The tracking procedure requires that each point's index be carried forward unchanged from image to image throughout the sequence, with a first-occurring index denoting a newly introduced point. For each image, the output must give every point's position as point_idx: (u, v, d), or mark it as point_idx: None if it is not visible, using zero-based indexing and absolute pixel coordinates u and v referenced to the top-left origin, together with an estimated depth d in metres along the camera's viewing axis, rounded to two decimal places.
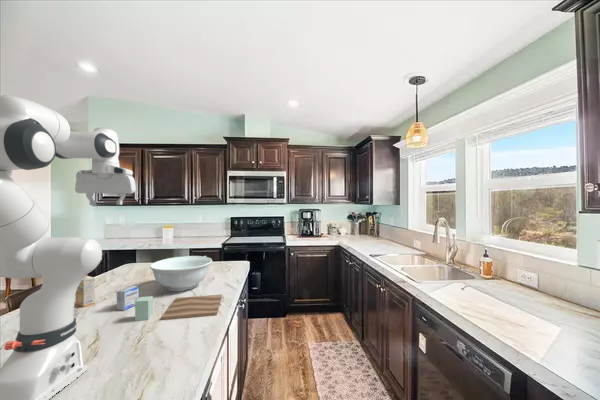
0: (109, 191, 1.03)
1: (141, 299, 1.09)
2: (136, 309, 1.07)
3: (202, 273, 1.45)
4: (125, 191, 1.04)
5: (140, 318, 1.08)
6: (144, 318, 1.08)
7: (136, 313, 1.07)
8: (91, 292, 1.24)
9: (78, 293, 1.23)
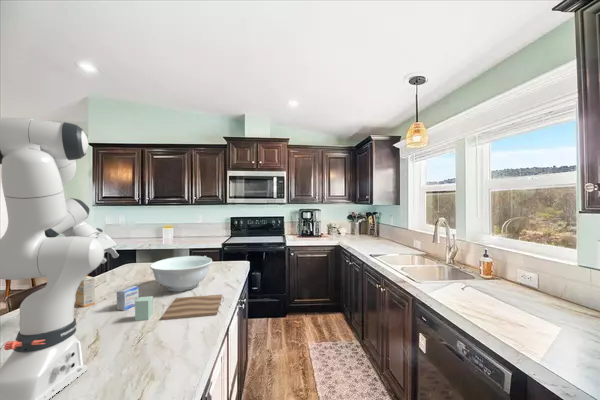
0: (107, 246, 1.09)
1: (141, 299, 1.09)
2: (136, 309, 1.07)
3: (202, 273, 1.45)
4: (114, 244, 1.15)
5: (140, 318, 1.08)
6: (144, 318, 1.08)
7: (136, 313, 1.07)
8: (91, 292, 1.24)
9: (78, 293, 1.23)
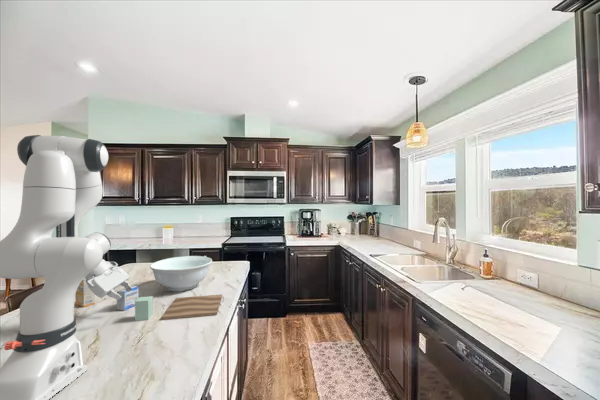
0: (121, 281, 1.10)
1: (141, 299, 1.09)
2: (136, 309, 1.07)
3: (202, 273, 1.45)
4: (127, 277, 1.16)
5: (140, 318, 1.08)
6: (144, 318, 1.08)
7: (136, 313, 1.07)
8: (91, 292, 1.24)
9: (78, 293, 1.23)
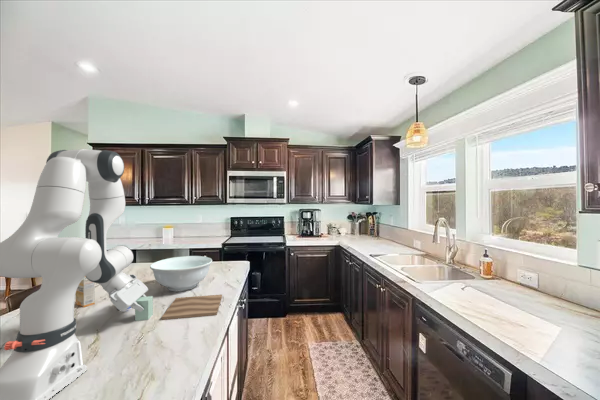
0: (141, 294, 1.12)
1: (141, 299, 1.09)
2: None
3: (202, 273, 1.45)
4: (146, 289, 1.17)
5: (140, 318, 1.08)
6: (144, 318, 1.08)
7: (136, 313, 1.07)
8: (91, 292, 1.24)
9: (78, 293, 1.23)
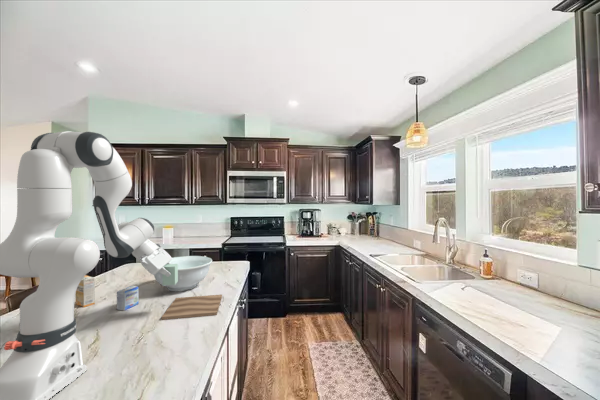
0: (167, 261, 1.18)
1: (167, 265, 1.15)
2: (163, 274, 1.13)
3: (202, 273, 1.45)
4: (170, 258, 1.23)
5: (167, 283, 1.14)
6: (171, 283, 1.14)
7: (163, 278, 1.13)
8: (91, 292, 1.24)
9: (78, 293, 1.23)
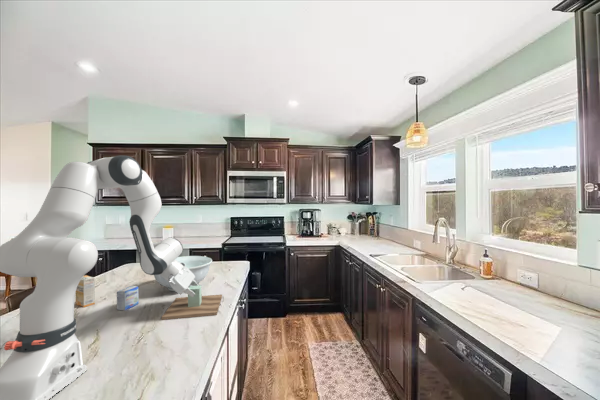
0: (191, 280, 1.22)
1: (192, 287, 1.20)
2: (189, 296, 1.18)
3: (202, 273, 1.45)
4: (194, 276, 1.28)
5: (192, 305, 1.18)
6: (196, 305, 1.18)
7: (189, 300, 1.18)
8: (91, 292, 1.24)
9: (78, 293, 1.23)
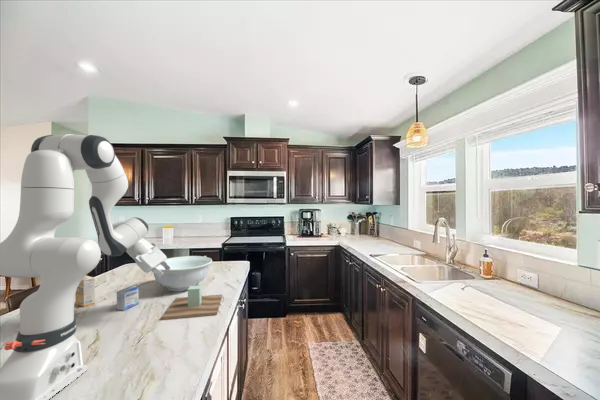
0: (161, 260, 1.20)
1: (192, 287, 1.20)
2: (189, 296, 1.18)
3: (202, 273, 1.45)
4: (165, 257, 1.25)
5: (192, 305, 1.18)
6: (196, 305, 1.18)
7: (189, 300, 1.18)
8: (91, 292, 1.24)
9: (78, 293, 1.23)
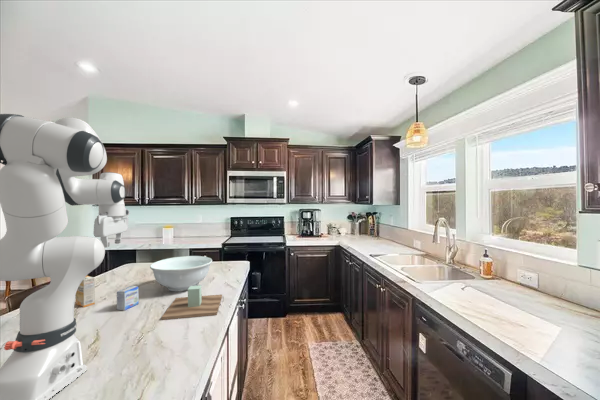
0: (119, 231, 1.10)
1: (192, 287, 1.20)
2: (189, 296, 1.18)
3: (202, 273, 1.45)
4: (125, 230, 1.16)
5: (192, 305, 1.18)
6: (196, 305, 1.18)
7: (189, 300, 1.18)
8: (91, 292, 1.24)
9: (78, 293, 1.23)
